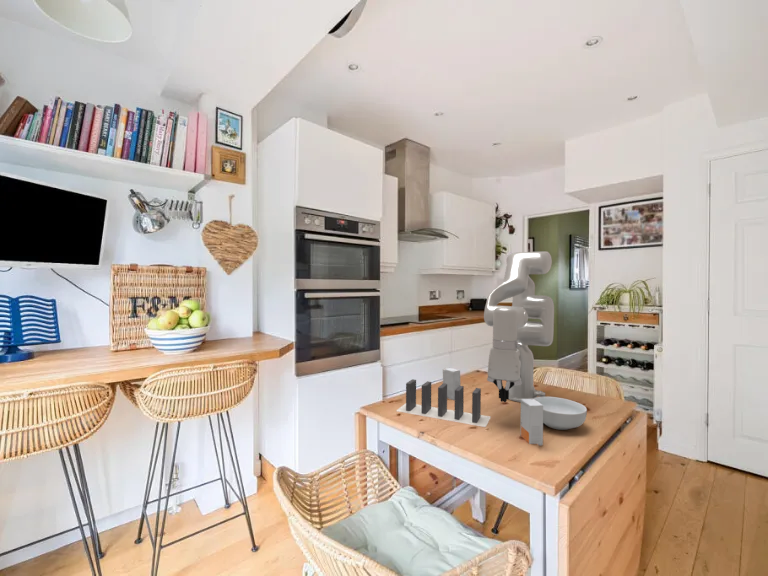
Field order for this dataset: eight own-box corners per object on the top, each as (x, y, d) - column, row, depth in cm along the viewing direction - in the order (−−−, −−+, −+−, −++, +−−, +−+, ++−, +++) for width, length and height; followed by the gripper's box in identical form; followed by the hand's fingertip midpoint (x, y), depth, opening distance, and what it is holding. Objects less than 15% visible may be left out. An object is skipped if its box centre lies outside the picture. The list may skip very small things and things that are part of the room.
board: (491, 418, 126) (491, 416, 126) (485, 428, 117) (485, 427, 117) (406, 404, 140) (406, 402, 140) (395, 412, 131) (395, 410, 131)
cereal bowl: (567, 440, 108) (567, 417, 108) (520, 422, 122) (520, 401, 122) (597, 428, 117) (597, 406, 117) (550, 412, 131) (550, 393, 131)
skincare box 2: (519, 437, 111) (520, 398, 110) (533, 436, 111) (533, 398, 111) (529, 446, 105) (529, 405, 104) (543, 445, 105) (544, 405, 105)
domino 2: (431, 408, 133) (431, 381, 133) (425, 414, 128) (425, 386, 128) (427, 407, 134) (427, 381, 134) (421, 413, 129) (421, 385, 128)
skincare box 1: (461, 399, 145) (461, 369, 145) (454, 402, 142) (454, 371, 142) (449, 395, 150) (449, 366, 150) (442, 398, 147) (442, 368, 147)
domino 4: (463, 414, 128) (463, 386, 128) (459, 419, 123) (459, 390, 122) (458, 413, 129) (459, 385, 128) (454, 419, 123) (454, 390, 123)
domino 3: (437, 416, 126) (438, 387, 126) (442, 410, 131) (442, 383, 131) (442, 416, 125) (442, 388, 125) (447, 411, 131) (447, 383, 130)
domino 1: (416, 406, 136) (416, 379, 136) (410, 411, 131) (410, 383, 130) (412, 405, 137) (412, 379, 136) (406, 410, 131) (406, 383, 131)
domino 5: (480, 417, 125) (480, 388, 125) (476, 423, 120) (477, 393, 120) (475, 416, 126) (476, 387, 126) (472, 422, 121) (472, 392, 120)
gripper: (529, 345, 118) (529, 401, 118) (483, 341, 125) (482, 394, 125) (528, 348, 112) (527, 408, 112) (479, 344, 118) (478, 400, 118)
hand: (503, 400), depth 118 cm, fingers closed
